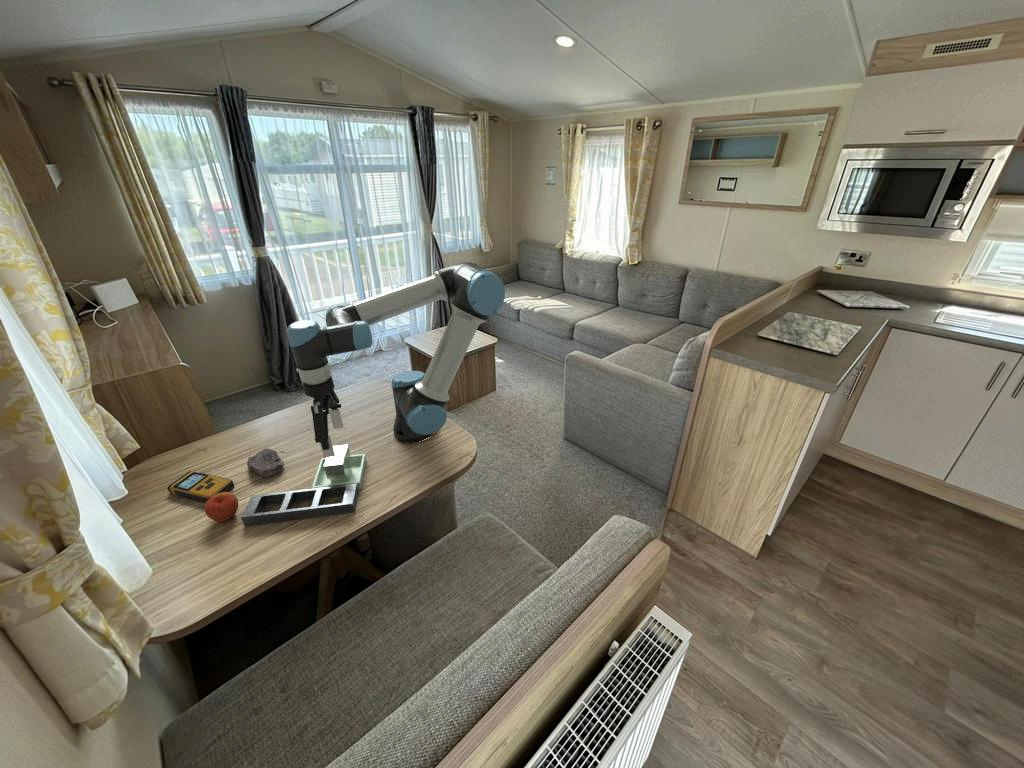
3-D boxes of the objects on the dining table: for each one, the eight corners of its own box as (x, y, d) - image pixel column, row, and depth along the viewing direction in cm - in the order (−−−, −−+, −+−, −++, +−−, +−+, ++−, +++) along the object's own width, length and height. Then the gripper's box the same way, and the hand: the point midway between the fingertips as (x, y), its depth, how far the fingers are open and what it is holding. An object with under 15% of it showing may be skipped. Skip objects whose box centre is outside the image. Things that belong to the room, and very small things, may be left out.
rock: (264, 483, 121) (260, 471, 118) (245, 469, 126) (240, 457, 124) (290, 468, 127) (286, 457, 124) (270, 455, 132) (266, 444, 130)
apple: (231, 503, 113) (222, 482, 109) (248, 512, 111) (239, 491, 107) (204, 521, 108) (193, 500, 104) (221, 531, 105) (211, 509, 101)
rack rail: (358, 492, 118) (356, 483, 116) (354, 512, 111) (352, 503, 109) (255, 504, 113) (251, 495, 111) (244, 526, 106) (240, 517, 105)
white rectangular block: (352, 465, 127) (347, 444, 123) (347, 485, 120) (342, 464, 116) (335, 467, 127) (330, 446, 122) (329, 487, 119) (323, 466, 115)
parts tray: (366, 461, 130) (365, 453, 129) (361, 489, 119) (359, 482, 117) (323, 465, 128) (321, 458, 126) (313, 495, 117) (311, 487, 115)
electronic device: (212, 507, 113) (208, 498, 111) (169, 495, 116) (164, 487, 114) (237, 486, 120) (233, 478, 118) (195, 476, 123) (191, 468, 121)
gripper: (312, 358, 116) (329, 418, 127) (288, 404, 95) (310, 471, 106) (339, 356, 117) (354, 416, 128) (321, 401, 96) (340, 468, 107)
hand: (334, 441), depth 117 cm, fingers open, 13 cm apart
